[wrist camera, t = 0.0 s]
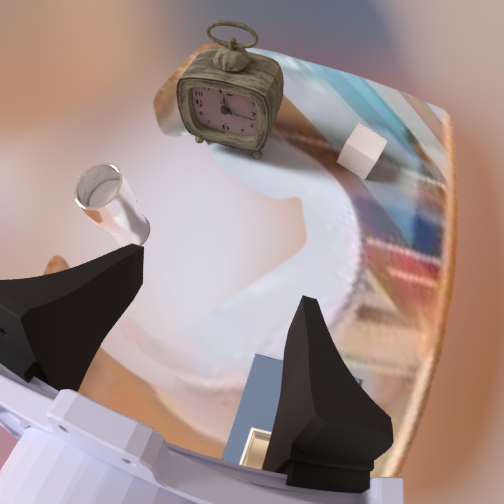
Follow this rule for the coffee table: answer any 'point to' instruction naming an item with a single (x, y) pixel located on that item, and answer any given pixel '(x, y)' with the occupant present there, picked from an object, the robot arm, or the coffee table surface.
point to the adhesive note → (361, 151)
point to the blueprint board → (256, 407)
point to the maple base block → (257, 450)
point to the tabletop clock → (231, 94)
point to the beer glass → (112, 204)
